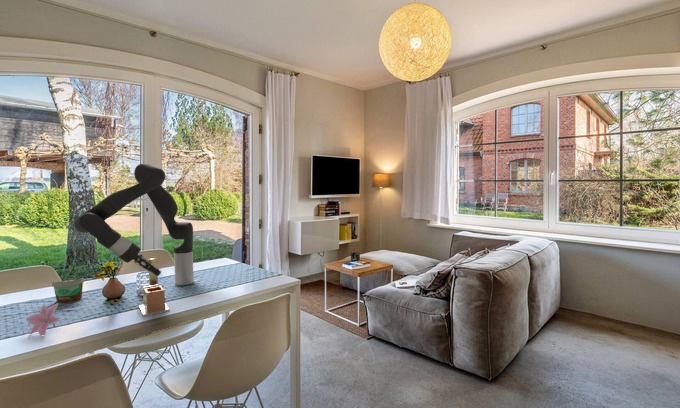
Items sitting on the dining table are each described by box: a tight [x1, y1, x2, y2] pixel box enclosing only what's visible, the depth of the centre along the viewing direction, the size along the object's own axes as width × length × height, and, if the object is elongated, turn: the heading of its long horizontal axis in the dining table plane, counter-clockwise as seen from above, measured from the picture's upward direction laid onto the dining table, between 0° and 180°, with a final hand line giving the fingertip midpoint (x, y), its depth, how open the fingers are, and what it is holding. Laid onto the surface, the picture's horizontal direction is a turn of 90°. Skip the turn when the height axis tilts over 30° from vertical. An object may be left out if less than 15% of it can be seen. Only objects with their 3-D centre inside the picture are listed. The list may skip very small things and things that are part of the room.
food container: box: [51, 277, 85, 304], centre depth 161 cm, size 12×6×10 cm, turn 117°
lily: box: [25, 302, 60, 336], centre depth 131 cm, size 12×12×10 cm
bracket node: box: [137, 284, 171, 317], centre depth 152 cm, size 13×10×10 cm
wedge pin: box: [147, 257, 159, 286], centre depth 149 cm, size 3×3×11 cm
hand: (158, 273), depth 150 cm, fingers closed on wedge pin, 3 cm apart
